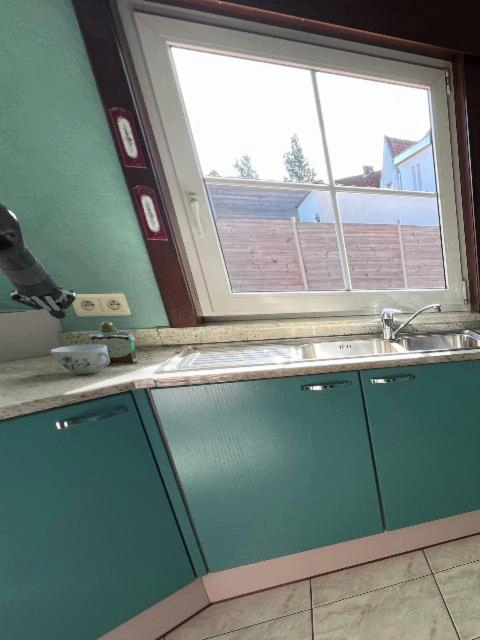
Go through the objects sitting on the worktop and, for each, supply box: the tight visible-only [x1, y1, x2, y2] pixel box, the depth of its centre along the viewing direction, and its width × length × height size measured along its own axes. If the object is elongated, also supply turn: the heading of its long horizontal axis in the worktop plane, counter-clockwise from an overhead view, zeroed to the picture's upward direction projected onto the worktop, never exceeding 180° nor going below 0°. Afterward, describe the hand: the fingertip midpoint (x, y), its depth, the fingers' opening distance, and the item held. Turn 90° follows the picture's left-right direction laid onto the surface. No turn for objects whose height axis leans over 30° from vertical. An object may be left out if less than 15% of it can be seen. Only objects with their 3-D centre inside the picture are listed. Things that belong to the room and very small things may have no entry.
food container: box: [88, 331, 138, 365], centre depth 169 cm, size 12×6×10 cm, turn 100°
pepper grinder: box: [98, 320, 119, 333], centre depth 178 cm, size 5×5×12 cm
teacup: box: [49, 343, 110, 375], centre depth 155 cm, size 15×12×8 cm
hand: (60, 316), depth 140 cm, fingers closed
